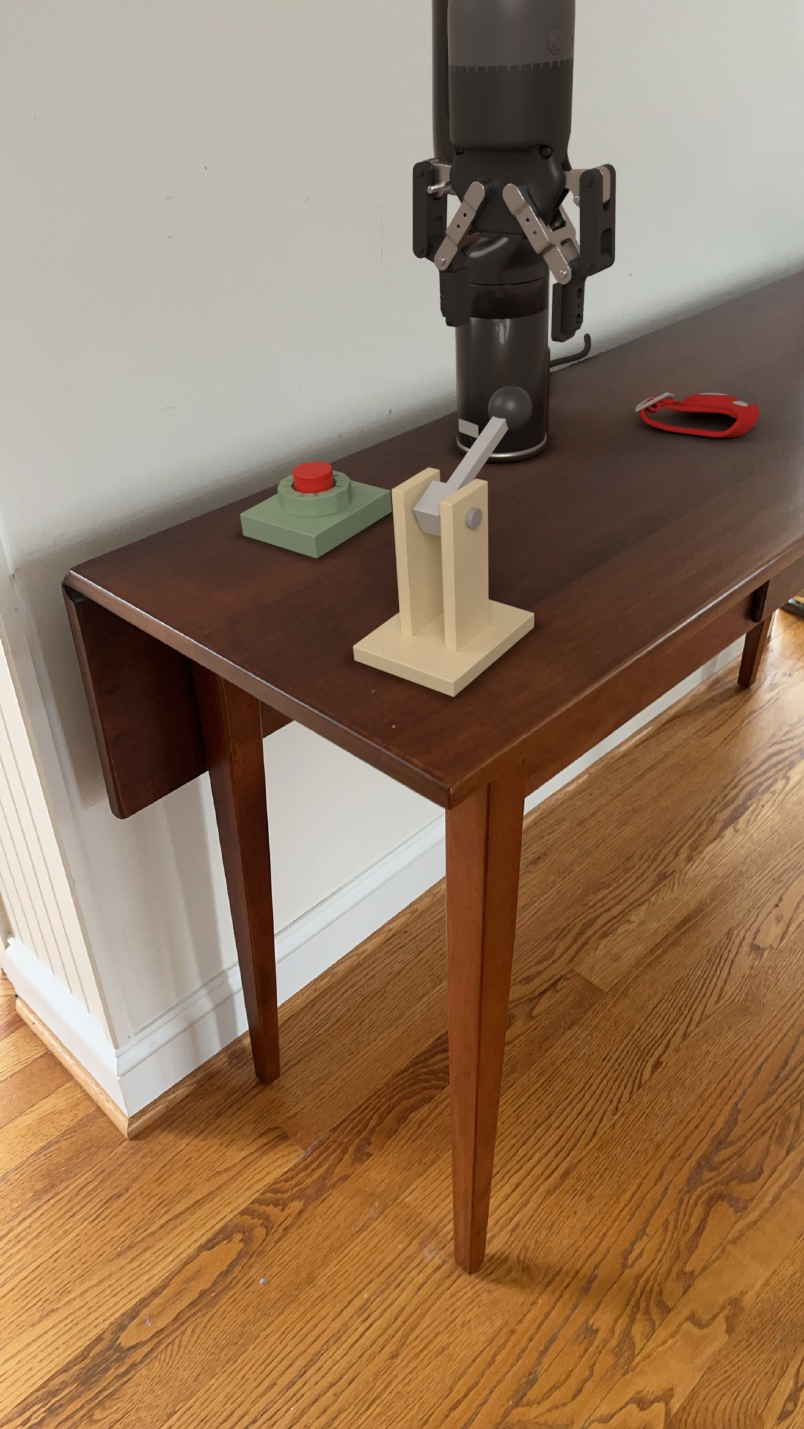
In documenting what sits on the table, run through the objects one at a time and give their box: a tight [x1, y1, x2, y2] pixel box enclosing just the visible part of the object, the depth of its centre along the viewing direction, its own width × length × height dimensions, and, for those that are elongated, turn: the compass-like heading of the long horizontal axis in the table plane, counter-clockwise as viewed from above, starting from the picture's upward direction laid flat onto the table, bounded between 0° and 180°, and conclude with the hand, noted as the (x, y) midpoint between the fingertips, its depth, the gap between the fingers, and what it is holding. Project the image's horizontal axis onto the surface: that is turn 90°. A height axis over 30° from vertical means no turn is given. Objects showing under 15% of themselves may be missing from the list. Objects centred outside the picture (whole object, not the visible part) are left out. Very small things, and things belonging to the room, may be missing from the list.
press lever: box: [413, 386, 532, 537], centre depth 72 cm, size 13×3×3 cm, turn 143°
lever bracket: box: [352, 467, 535, 698], centre depth 74 cm, size 11×9×13 cm
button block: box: [239, 470, 393, 559], centre depth 94 cm, size 11×9×4 cm
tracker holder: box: [634, 391, 760, 439], centre depth 108 cm, size 12×4×10 cm
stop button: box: [292, 461, 334, 493], centre depth 93 cm, size 4×4×2 cm
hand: (509, 331), depth 71 cm, fingers open, 8 cm apart
